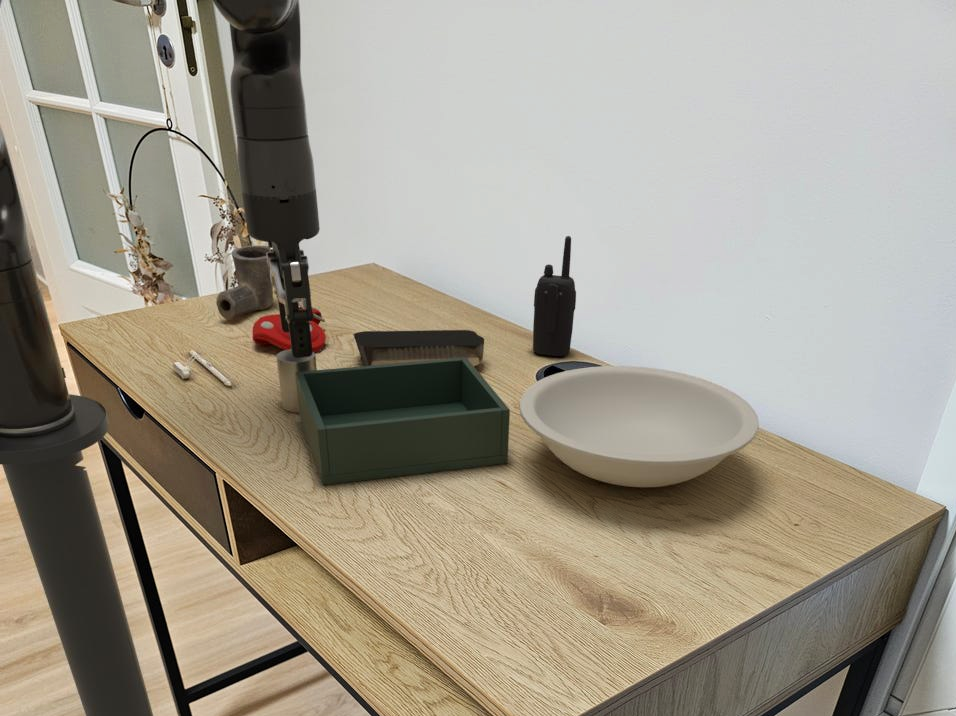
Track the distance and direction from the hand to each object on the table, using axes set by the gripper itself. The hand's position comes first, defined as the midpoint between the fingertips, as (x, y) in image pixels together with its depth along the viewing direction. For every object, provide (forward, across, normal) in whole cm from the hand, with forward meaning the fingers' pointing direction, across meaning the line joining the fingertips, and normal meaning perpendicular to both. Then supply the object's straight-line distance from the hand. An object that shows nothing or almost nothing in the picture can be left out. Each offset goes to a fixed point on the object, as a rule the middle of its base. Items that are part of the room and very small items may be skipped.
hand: (296, 343), depth 100 cm
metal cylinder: (+7, 0, 0) cm, 7 cm away
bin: (+7, +13, +9) cm, 17 cm away
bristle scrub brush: (+8, -10, +17) cm, 21 cm away
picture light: (+7, -13, -12) cm, 19 cm away
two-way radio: (+8, -9, +35) cm, 37 cm away
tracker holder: (+8, -22, +3) cm, 23 cm away
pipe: (+8, -37, -2) cm, 38 cm away
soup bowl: (+8, +25, +30) cm, 40 cm away
